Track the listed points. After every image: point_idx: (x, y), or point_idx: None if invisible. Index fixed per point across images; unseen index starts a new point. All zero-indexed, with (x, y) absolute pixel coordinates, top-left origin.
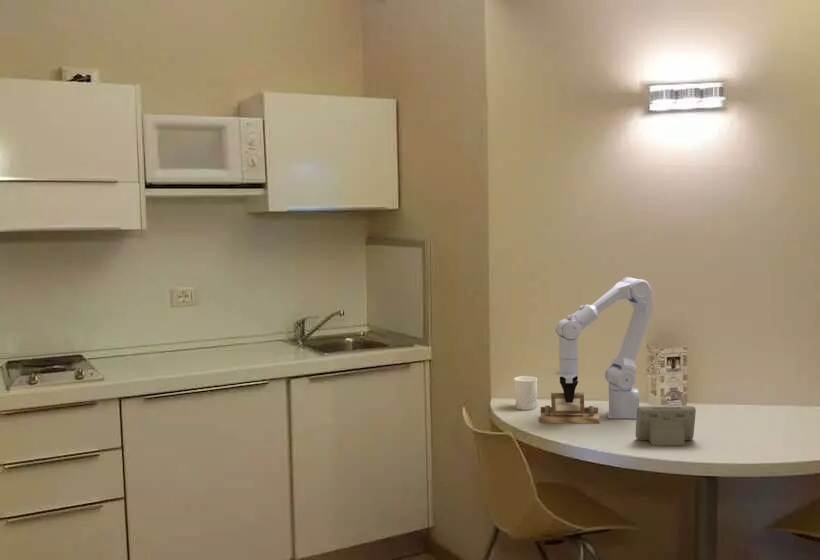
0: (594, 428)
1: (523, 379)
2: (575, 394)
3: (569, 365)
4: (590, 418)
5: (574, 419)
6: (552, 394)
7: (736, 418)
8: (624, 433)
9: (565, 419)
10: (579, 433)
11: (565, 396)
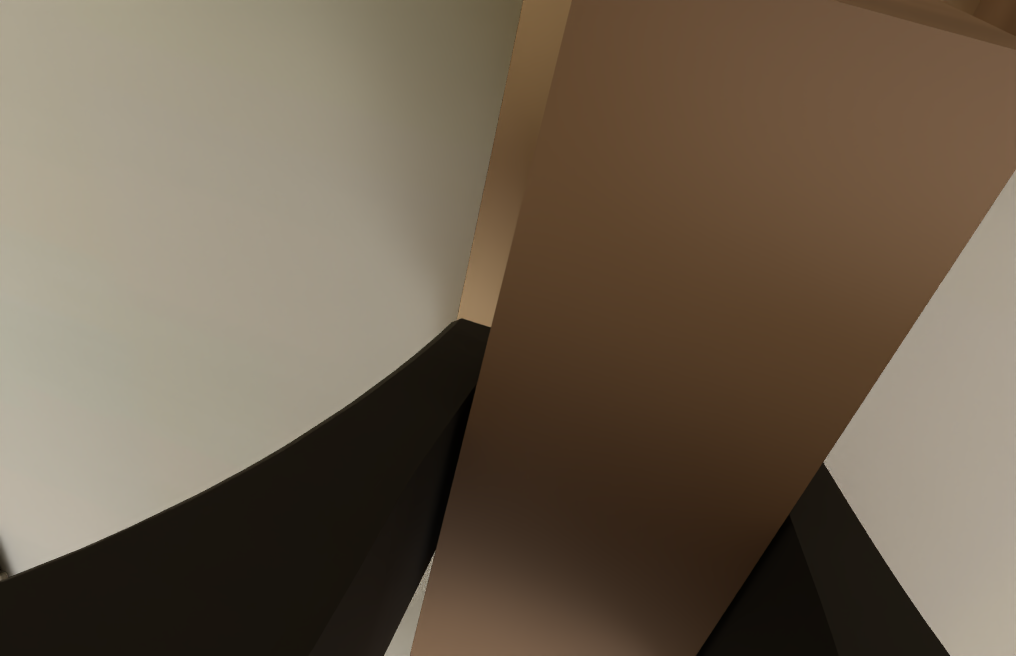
0: (242, 370)
1: None
2: (466, 646)
3: None
4: None
5: (471, 271)
6: (728, 50)
7: None
8: (112, 514)
9: (498, 143)
10: (26, 151)
11: (372, 401)
